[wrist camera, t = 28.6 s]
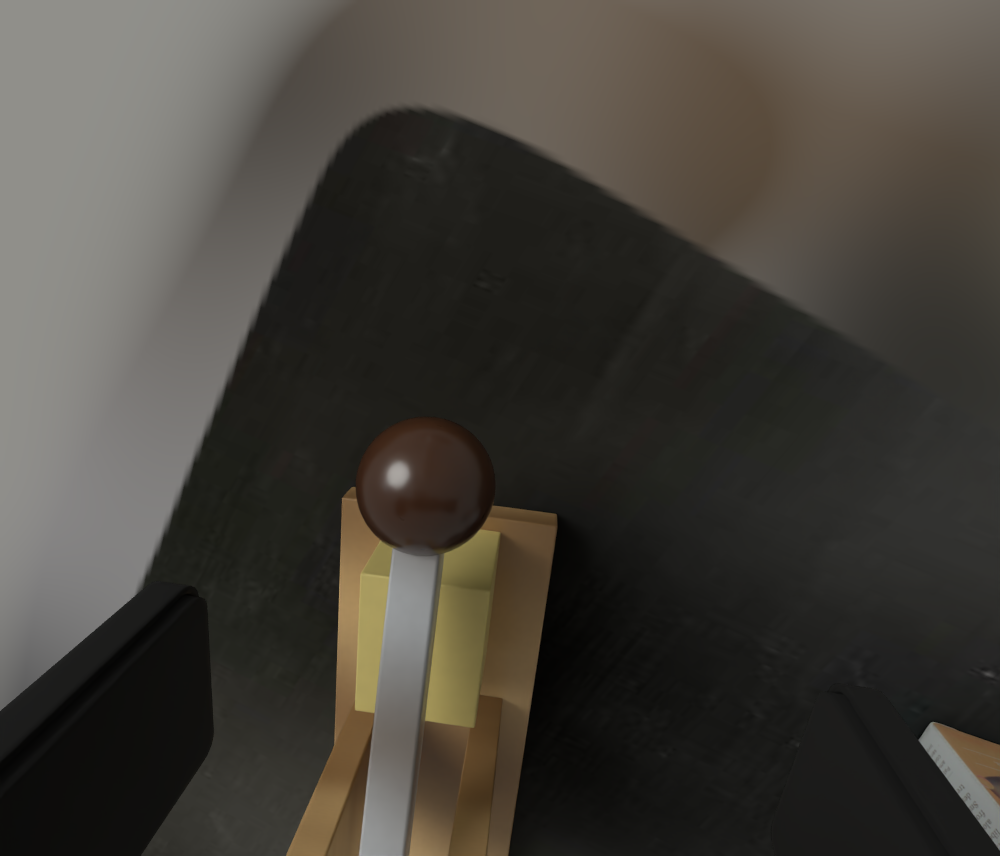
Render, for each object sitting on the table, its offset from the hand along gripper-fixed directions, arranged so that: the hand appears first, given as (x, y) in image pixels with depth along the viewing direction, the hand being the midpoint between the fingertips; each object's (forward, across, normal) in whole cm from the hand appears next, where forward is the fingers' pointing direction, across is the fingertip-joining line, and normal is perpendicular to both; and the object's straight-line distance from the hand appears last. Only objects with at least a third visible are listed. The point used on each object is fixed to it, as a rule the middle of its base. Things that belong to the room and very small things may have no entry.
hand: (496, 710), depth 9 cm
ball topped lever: (+5, +2, +5) cm, 8 cm away
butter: (+9, +2, +4) cm, 11 cm away
